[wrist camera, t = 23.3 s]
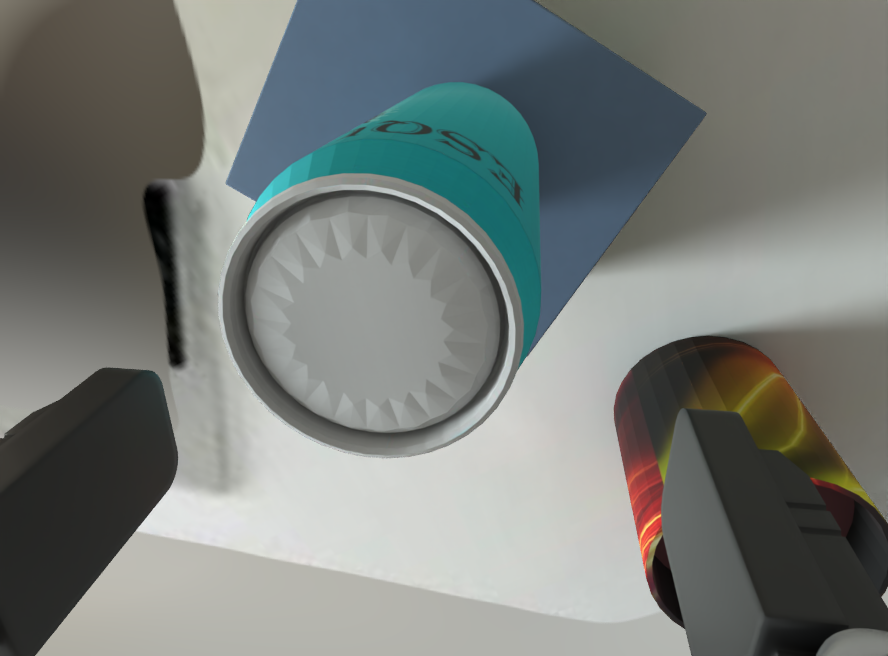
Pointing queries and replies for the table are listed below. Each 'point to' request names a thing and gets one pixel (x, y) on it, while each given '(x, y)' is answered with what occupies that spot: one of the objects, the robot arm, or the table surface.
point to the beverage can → (392, 276)
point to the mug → (771, 426)
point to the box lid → (493, 67)
